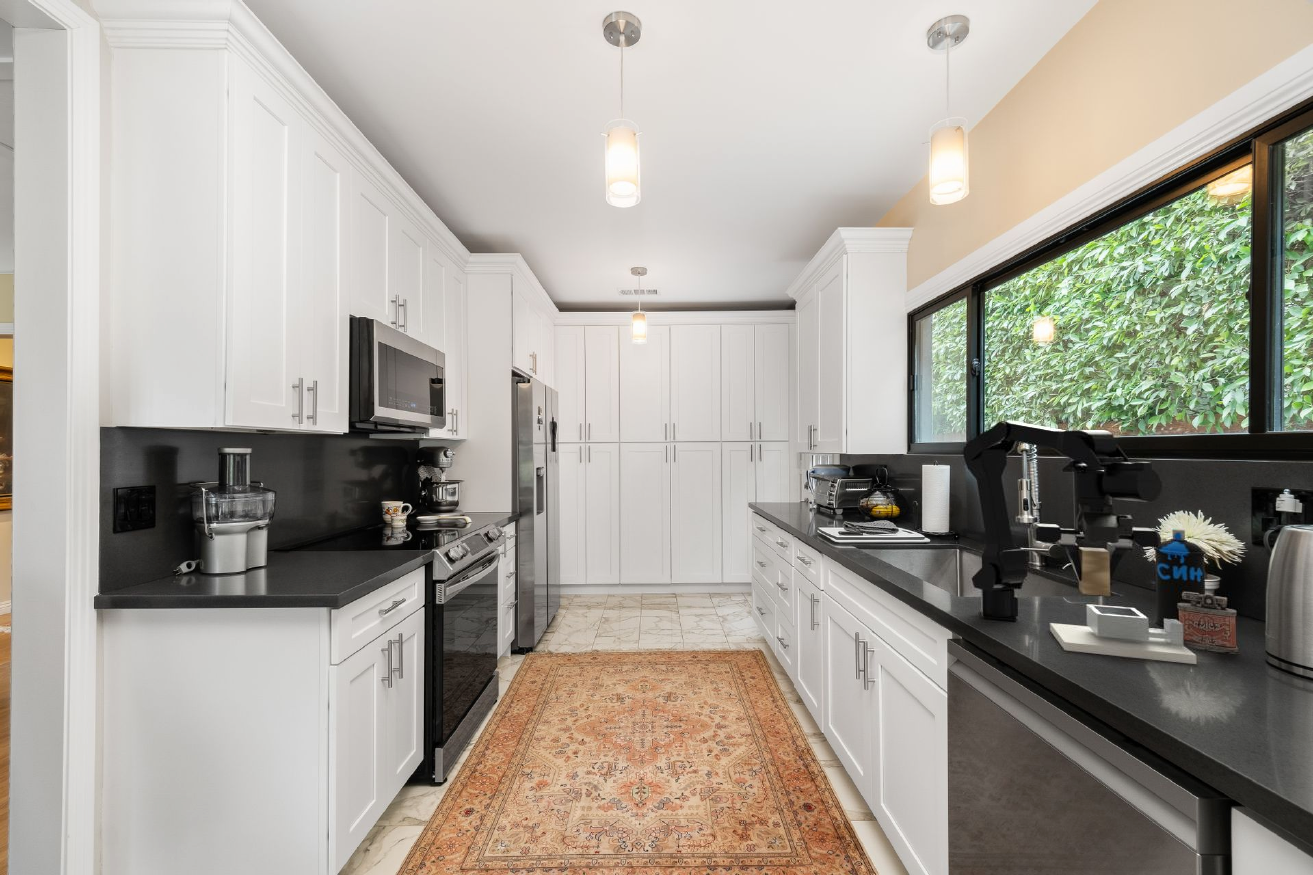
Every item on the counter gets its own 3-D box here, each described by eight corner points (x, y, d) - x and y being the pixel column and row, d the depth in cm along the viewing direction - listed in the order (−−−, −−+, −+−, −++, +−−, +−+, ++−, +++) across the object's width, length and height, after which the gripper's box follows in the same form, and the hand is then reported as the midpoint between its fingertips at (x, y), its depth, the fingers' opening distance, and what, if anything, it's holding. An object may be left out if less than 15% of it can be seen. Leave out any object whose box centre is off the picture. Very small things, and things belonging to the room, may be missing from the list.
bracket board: (1064, 650, 110) (1064, 642, 110) (1050, 630, 122) (1050, 622, 122) (1196, 664, 102) (1196, 655, 102) (1167, 641, 114) (1166, 633, 114)
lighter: (1237, 650, 109) (1235, 595, 110) (1237, 654, 107) (1236, 598, 107) (1178, 640, 115) (1177, 588, 115) (1178, 645, 112) (1176, 591, 113)
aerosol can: (1157, 618, 130) (1155, 526, 130) (1209, 625, 124) (1206, 529, 125) (1153, 626, 124) (1150, 529, 125) (1206, 634, 118) (1203, 533, 119)
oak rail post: (1083, 593, 110) (1082, 550, 110) (1078, 589, 114) (1078, 547, 114) (1110, 596, 108) (1109, 551, 108) (1104, 591, 112) (1103, 548, 112)
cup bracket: (1097, 641, 110) (1097, 614, 110) (1087, 629, 117) (1086, 604, 117) (1188, 650, 105) (1188, 621, 105) (1171, 637, 112) (1171, 610, 112)
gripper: (1039, 499, 108) (1041, 586, 108) (1171, 502, 100) (1173, 596, 100) (1031, 494, 118) (1032, 574, 118) (1149, 497, 110) (1151, 582, 110)
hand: (1094, 581), depth 111 cm, fingers closed on oak rail post, 4 cm apart
